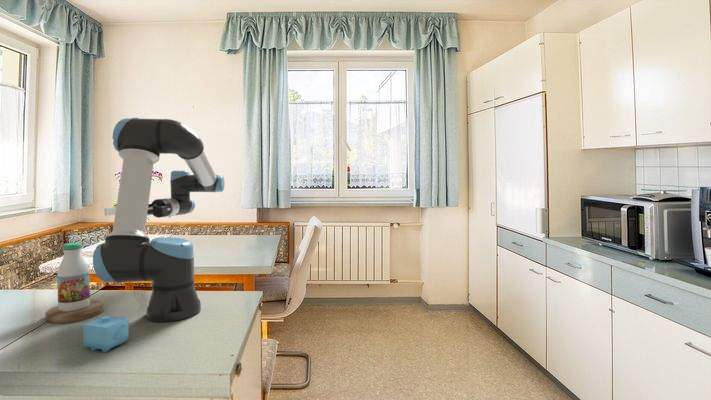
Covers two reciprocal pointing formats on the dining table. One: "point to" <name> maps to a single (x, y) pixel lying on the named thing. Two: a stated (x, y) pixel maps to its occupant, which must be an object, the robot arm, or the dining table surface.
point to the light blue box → (105, 333)
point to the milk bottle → (73, 279)
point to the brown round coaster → (74, 313)
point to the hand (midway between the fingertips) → (121, 212)
